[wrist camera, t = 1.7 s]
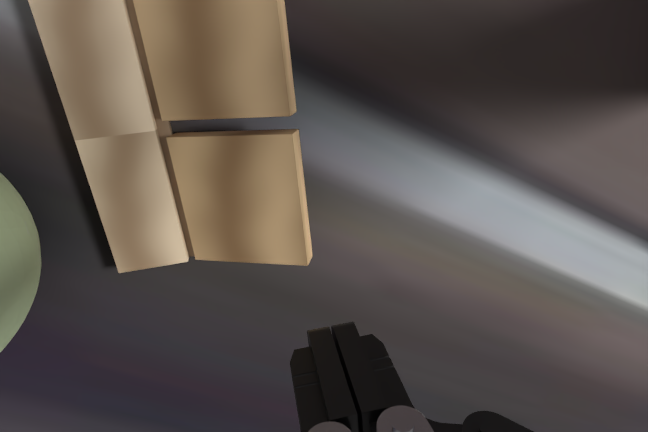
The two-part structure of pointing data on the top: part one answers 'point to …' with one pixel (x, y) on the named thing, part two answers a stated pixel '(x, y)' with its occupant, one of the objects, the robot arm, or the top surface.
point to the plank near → (218, 58)
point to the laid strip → (116, 127)
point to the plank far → (243, 195)
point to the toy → (16, 261)
